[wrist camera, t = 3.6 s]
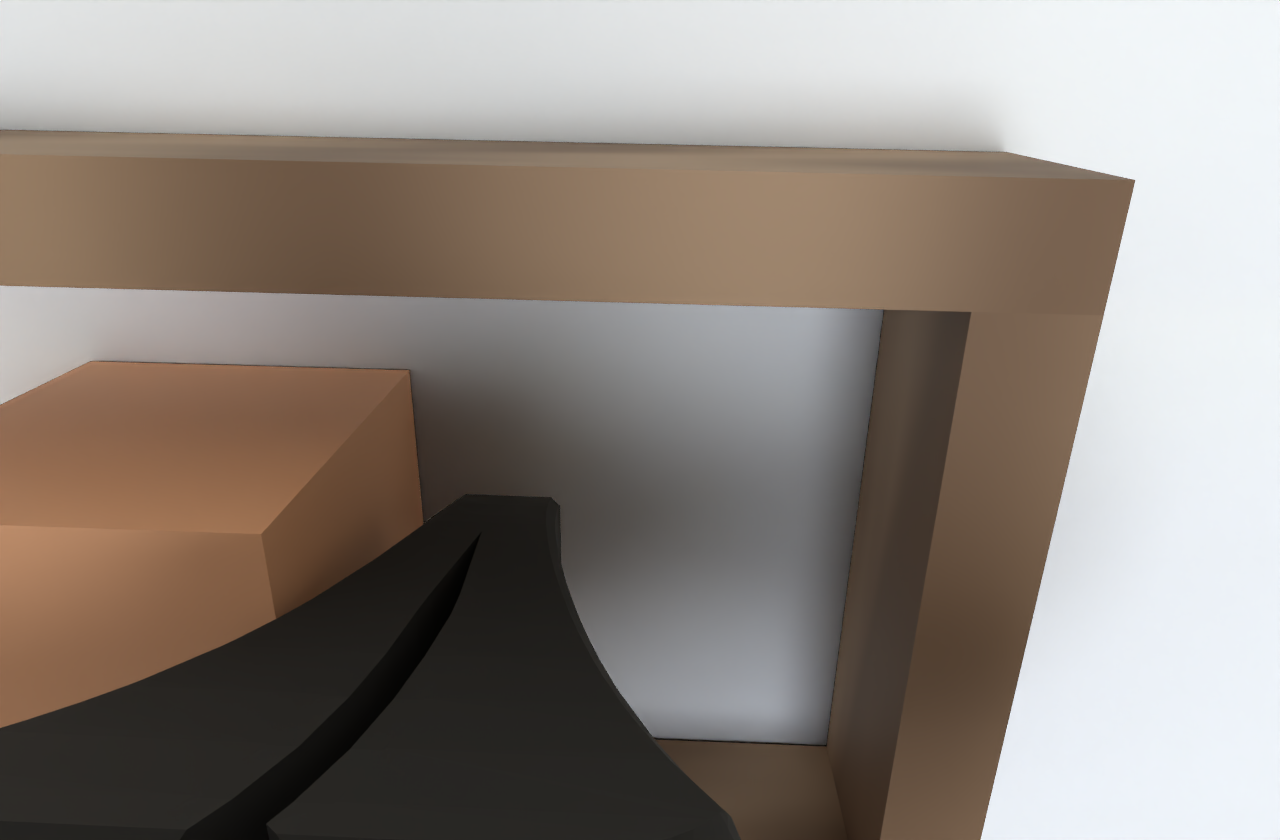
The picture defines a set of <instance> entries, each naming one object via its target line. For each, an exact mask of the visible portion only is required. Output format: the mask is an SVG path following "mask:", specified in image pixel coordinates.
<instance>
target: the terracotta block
mask: <svg viewBox="0 0 1280 840" xmlns="http://www.w3.org/2000/svg"><path fill="white" fill-rule="evenodd" d="M423 524H424V523H423V512H422V502H421V491H420V480H419V469H418V458H417V447H416V437H415V426H414V415H413V404H412V393H411V382H410V372H409V370H383V369H347V368H312V367H276V366H240V365H205V364H169V363H133V362H98V361H90V362H88V363H86V364H84V365H82V366H80V367H78V368H76V369H73V370H71V371H69V372H67V373H65V374H63V375H61V376H59V377H57V378H55V379H53V380H51V381H49V382H47V383H45V384H42V385H40V386H38V387H36V388H34V389H32V390H30V391H28V392H26V393H24V394H22V395H20V396H18V397H16V398H14V399H12V400H9V401H7V402H5V403H3V404H1V405H0V728H2V727H5V726H8V725H11V724H15V723H18V722H21V721H25V720H28V719H31V718H34V717H37V716H40V715H43V714H46V713H49V712H52V711H55V710H58V709H61V708H64V707H67V706H70V705H73V704H76V703H79V702H82V701H85V700H88V699H91V698H94V697H96V696H99V695H102V694H105V693H107V692H110V691H113V690H116V689H118V688H121V687H124V686H127V685H129V684H132V683H135V682H137V681H140V680H142V679H145V678H147V677H149V676H152V675H154V674H157V673H159V672H161V671H164V670H166V669H168V668H171V667H173V666H175V665H178V664H180V663H182V662H185V661H187V660H190V659H192V658H194V657H197V656H199V655H201V654H204V653H206V652H208V651H211V650H213V649H215V648H218V647H220V646H223V645H225V644H227V643H229V642H231V641H233V640H235V639H237V638H239V637H241V636H243V635H245V634H247V633H249V632H251V631H253V630H255V629H257V628H259V627H261V626H263V625H265V624H267V623H269V622H271V621H273V620H275V619H277V618H279V617H281V616H282V615H284V614H286V613H288V612H290V611H291V610H293V609H295V608H297V607H299V606H300V605H302V604H304V603H306V602H307V601H309V600H311V599H313V598H314V597H316V596H318V595H319V594H321V593H322V592H324V591H325V590H327V589H329V588H330V587H332V586H333V585H335V584H336V583H338V582H340V581H341V580H343V579H344V578H346V577H347V576H349V575H351V574H352V573H354V572H355V571H357V570H358V569H360V568H362V567H363V566H365V565H366V564H368V563H369V562H371V561H373V560H374V559H375V558H377V557H378V556H380V555H381V554H383V553H384V552H385V551H387V550H388V549H390V548H391V547H392V546H394V545H395V544H397V543H398V542H399V541H401V540H402V539H404V538H405V537H406V536H408V535H409V534H411V533H412V532H413V531H415V530H416V529H418V528H419V527H420V526H422V525H423Z"/></svg>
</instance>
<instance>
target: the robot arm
mask: <svg viewBox="0 0 1280 840" xmlns="http://www.w3.org/2000/svg"><path fill="white" fill-rule="evenodd" d="M0 840H741V839H740V836H739V834H738V831H737V829H736V827H735V824H734V822H733V820H732V817H731V816H730V815H729V814H728V813H727V812H726V811H725V810H724V809H722V808H721V807H720V806H719V805H718V804H717V803H716V802H715V801H714V800H713V799H712V798H711V797H709V796H708V795H707V794H706V793H705V792H704V791H703V790H702V789H701V788H700V787H699V786H697V785H696V784H695V783H694V782H693V781H692V780H691V779H690V778H689V777H688V776H687V775H686V774H685V773H684V772H683V771H682V770H681V769H680V768H679V767H678V765H677V764H676V763H675V762H674V761H673V760H672V759H671V757H670V756H669V755H668V754H667V753H666V752H665V751H664V749H663V748H662V747H661V746H660V745H659V744H658V743H657V742H656V740H655V739H654V738H653V737H652V736H651V734H650V733H649V732H648V730H647V729H646V728H645V726H644V725H643V724H642V722H641V721H640V719H639V718H638V717H637V715H636V714H635V713H634V711H633V710H632V709H631V707H630V706H629V705H628V703H627V702H626V701H625V699H624V698H623V696H622V695H621V694H620V692H619V691H618V689H617V688H616V686H615V685H614V683H613V681H612V680H611V678H610V676H609V675H608V673H607V671H606V670H605V668H604V667H603V665H602V663H601V661H600V660H599V658H598V656H597V654H596V652H595V650H594V648H593V646H592V644H591V643H590V641H589V639H588V636H587V634H586V632H585V630H584V628H583V626H582V623H581V621H580V619H579V616H578V614H577V611H576V609H575V606H574V603H573V601H572V598H571V596H570V593H569V590H568V587H567V584H566V580H565V577H564V573H563V569H562V565H561V533H560V505H559V504H558V503H557V502H556V501H555V500H554V499H553V498H552V497H526V496H498V495H471V494H466V495H464V496H463V497H461V498H459V499H458V500H456V501H455V502H453V503H452V504H451V505H449V506H448V507H446V508H445V509H444V510H442V511H441V512H439V513H438V514H437V515H435V516H434V517H433V518H431V519H430V520H429V521H427V522H426V523H424V524H423V525H422V526H420V527H419V528H418V529H416V530H415V531H413V532H412V533H411V534H409V535H408V536H406V537H405V538H404V539H402V540H401V541H399V542H398V543H397V544H395V545H394V546H392V547H391V548H390V549H388V550H387V551H385V552H384V553H383V554H381V555H380V556H378V557H377V558H375V559H374V560H373V561H371V562H369V563H368V564H366V565H365V566H363V567H362V568H360V569H358V570H357V571H355V572H354V573H352V574H351V575H349V576H347V577H346V578H344V579H343V580H341V581H340V582H338V583H336V584H335V585H333V586H332V587H330V588H329V589H327V590H325V591H324V592H322V593H321V594H319V595H318V596H316V597H314V598H313V599H311V600H309V601H307V602H306V603H304V604H302V605H300V606H299V607H297V608H295V609H293V610H291V611H290V612H288V613H286V614H284V615H282V616H281V617H279V618H277V619H275V620H273V621H271V622H269V623H267V624H265V625H263V626H261V627H259V628H257V629H255V630H253V631H251V632H249V633H247V634H245V635H243V636H241V637H239V638H237V639H235V640H233V641H231V642H229V643H227V644H225V645H223V646H220V647H218V648H215V649H213V650H211V651H208V652H206V653H204V654H201V655H199V656H197V657H194V658H192V659H190V660H187V661H185V662H182V663H180V664H178V665H175V666H173V667H171V668H168V669H166V670H164V671H161V672H159V673H157V674H154V675H152V676H149V677H147V678H145V679H142V680H140V681H137V682H135V683H132V684H129V685H127V686H124V687H121V688H118V689H116V690H113V691H110V692H107V693H105V694H102V695H99V696H96V697H94V698H91V699H88V700H85V701H82V702H79V703H76V704H73V705H70V706H67V707H64V708H61V709H58V710H55V711H52V712H49V713H46V714H43V715H40V716H37V717H34V718H31V719H28V720H25V721H21V722H18V723H15V724H11V725H8V726H5V727H2V728H0Z"/></svg>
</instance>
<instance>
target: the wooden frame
mask: <svg viewBox="0 0 1280 840" xmlns="http://www.w3.org/2000/svg"><path fill="white" fill-rule="evenodd" d="M1134 183H1135V180H1132V179H1127V178H1123V177H1118V176H1113V175H1109V174H1104V173H1100V172H1095V171H1091V170H1086V169H1081V168H1077V167H1072V166H1068V165H1063V164H1059V163H1054V162H1049V161H1045V160H1040V159H1036V158H1031V157H1027V156H1022V155H1017V154H1013V153H1008V152H978V151H933V150H888V149H843V148H798V147H753V146H708V145H663V144H618V143H573V142H528V141H483V140H438V139H393V138H348V137H303V136H258V135H213V134H168V133H123V132H78V131H33V130H0V285H1V286H38V287H75V288H111V289H148V290H185V291H222V292H259V293H295V294H332V295H369V296H406V297H443V298H479V299H516V300H553V301H590V302H627V303H663V304H700V305H737V306H774V307H811V308H847V309H884V315H883V323H882V331H881V338H880V346H879V353H878V361H877V368H876V376H875V383H874V391H873V398H872V406H871V414H870V421H869V429H868V436H867V444H866V451H865V459H864V466H863V474H862V482H861V489H860V497H859V504H858V512H857V519H856V527H855V534H854V542H853V549H852V557H851V565H850V572H849V580H848V587H847V595H846V602H845V610H844V617H843V625H842V632H841V640H840V648H839V655H838V663H837V670H836V678H835V685H834V693H833V700H832V708H831V715H830V723H829V731H828V738H827V746H801V745H777V744H752V743H727V742H703V741H678V740H656V742H657V743H658V744H659V745H660V746H661V747H662V748H663V749H664V751H665V752H666V753H667V754H668V755H669V756H670V757H671V759H672V760H673V761H674V762H675V763H676V764H677V765H678V767H679V768H680V769H681V770H682V771H683V772H684V773H685V774H686V775H687V776H688V777H689V778H690V779H691V780H692V781H693V782H694V783H695V784H696V785H697V786H699V787H700V788H701V789H702V790H703V791H704V792H705V793H706V794H707V795H708V796H709V797H711V798H712V799H713V800H714V801H715V802H716V803H717V804H718V805H719V806H720V807H721V808H722V809H724V810H725V811H726V812H727V813H728V814H729V815H730V816H731V817H732V820H733V822H734V824H735V827H736V829H737V831H738V834H739V836H740V839H741V840H980V839H981V835H982V830H983V826H984V822H985V818H986V813H987V809H988V805H989V801H990V796H991V792H992V788H993V784H994V779H995V775H996V771H997V767H998V762H999V758H1000V754H1001V750H1002V745H1003V741H1004V737H1005V733H1006V728H1007V724H1008V720H1009V715H1010V711H1011V707H1012V703H1013V698H1014V694H1015V690H1016V686H1017V681H1018V677H1019V673H1020V669H1021V664H1022V660H1023V656H1024V652H1025V647H1026V643H1027V639H1028V635H1029V630H1030V626H1031V622H1032V618H1033V613H1034V609H1035V605H1036V601H1037V596H1038V592H1039V588H1040V583H1041V579H1042V575H1043V571H1044V566H1045V562H1046V558H1047V554H1048V549H1049V545H1050V541H1051V537H1052V532H1053V528H1054V524H1055V520H1056V515H1057V511H1058V507H1059V503H1060V498H1061V494H1062V490H1063V486H1064V481H1065V477H1066V473H1067V469H1068V464H1069V460H1070V456H1071V451H1072V447H1073V443H1074V439H1075V434H1076V430H1077V426H1078V422H1079V417H1080V413H1081V409H1082V405H1083V400H1084V396H1085V392H1086V388H1087V383H1088V379H1089V375H1090V371H1091V366H1092V362H1093V358H1094V354H1095V349H1096V345H1097V341H1098V336H1099V332H1100V328H1101V324H1102V319H1103V315H1104V311H1105V307H1106V302H1107V298H1108V294H1109V290H1110V285H1111V281H1112V277H1113V273H1114V268H1115V264H1116V260H1117V256H1118V251H1119V247H1120V243H1121V239H1122V234H1123V230H1124V226H1125V222H1126V217H1127V213H1128V209H1129V204H1130V200H1131V196H1132V192H1133V187H1134Z"/></svg>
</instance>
